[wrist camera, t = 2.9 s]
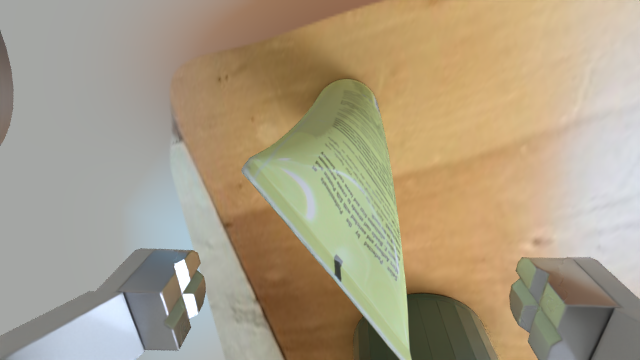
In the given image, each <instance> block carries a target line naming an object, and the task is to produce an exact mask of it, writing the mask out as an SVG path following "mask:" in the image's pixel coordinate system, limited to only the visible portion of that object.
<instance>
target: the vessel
mask: <svg viewBox="0 0 640 360" xmlns="http://www.w3.org/2000/svg"><path fill="white" fill-rule="evenodd" d="M407 308H408V331H409V349H410V355H411V359H412V360H500V359H499V357H498V355H497V353H496V350H495V348H494V346H493V344H492V342H491V340H490V338H489V335H488V333H487V331H486V330H485V328H484V326H483V324H482V322H481V320H480V319H479V317H478V316H477V315H476V314H475V313H474V312H473V311H472V310H471V309H470V308H469V307H467V306H466V305H464V304H463V303H461V302H459V301H457V300H454V299H452V298H449V297H445V296H441V295H435V294H424V293H423V294H409V295H407ZM353 360H400V359H399V358H398V357H397V356H396V354H395V353H394V352H393V351H392V350H391V349H390V348H389V346H388V345H387V344H386V343H385V341H384V340H383V339H382V338H381V337H380V335H379V334H378V333H377V331H376V330H375V329H374V328H373V327H372V325H371V324H370V323H369V322H368V320H367V319H366V318H365V317H364V316H363V317H362V319H361V320H360V321H359V323H358V325H357V327H356V329H355V332H354V337H353Z"/></svg>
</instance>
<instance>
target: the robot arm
mask: <svg viewBox="0 0 640 360" xmlns="http://www.w3.org/2000/svg"><path fill="white" fill-rule="evenodd" d="M200 264H201V262H200V259H199V255H198V253H197V252H195V251H194V250H172V249H142V248H141V249H138V250H135V251H134V252H133V253H132V254H131V255H130V256H129V257H128V258H127V259H126V260H125V261H124V262H123V263H122V264H121V265H120V266H119V267H118V269H117V270H116V271H115V272H114V273H113V274H112V275H111V276H110V277H109V278H108V279H107V280H106V281H105V282H104V283H103V284H102V285H101V286H100V287H99V288H98V289H97V290H96V291H95V292H94V291H89V292H87V293H85V294H83V295H81V296H79V297H77V298H75V299H73V300H71V301H69V302H67V303H65V304H63V305H61V306H59V307H57V308H55V309H53V310H51V311H49V312H47V313H45V314H43V315H41V316H39V317H37V318H35V319H33V320H31V321H29V322H27V323H25V324H23V325H21V326H19V327H17V328H15V329H13V330H11V331H9V332H7V333H5V334H3V335H1V336H0V360H136V359H137V358H138V357H139V356H140V355H142V354H143V353H144V352H145V351H144V350H177V351H178V350H179V349H180V347H181V345H182V343H183V341H184V339H185V338H186V336H187V334H188V332H189V330H190V328H191V326H190V322H189V320H190V319H191V318H192V317H194V316H195V315H196V314H198V313H199V311H200V309H201V307H202V305H203V302H204V297H205V293H206V287H205V280H204V276H203V275H202V274H201V273H200V272H199V271H197V269H198V267H199V265H200ZM516 272H517V274H518V275H519V277H520V279H518V280H517V281H516V282H515V283H514V284H512V286H511V291H510V295H509V298H510V308H511V311H512V314H513V316H514V318H515V320H516V322H517V324H518V325H519V326H520V327H522V328H523V329H525V330H526V331H527V332H529V333H530V335H529V338H528V343H529V344H530V346H531V348H532V350H533V351H534V353H535V355H536V356H537V358H538V360H640V299H639V298H638V297H636V296H635V295H634V294H633V293H632V292H631V291H630V290H629V289H628V288H627V287H626V286H624V285H623V284H622V283H621V282H620V281H619V280H618V279H617V278H616V277H615V276H614V275H613V274H611V273H610V272H609V271H608V270H607V269H606V268H605V267H604V266H603V265H602V264H601V263H600V262H598V261H597V260H595V259H593V258H590V257H567V258H527V257H522V258H521V259H520V261H519V262H518V264H517V268H516Z"/></svg>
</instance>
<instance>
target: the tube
mask: <svg viewBox="0 0 640 360" xmlns="http://www.w3.org/2000/svg"><path fill="white" fill-rule="evenodd" d="M241 171H242V173H243V174H244V175H245V177H246V178H247V179H248V180H249V181H250V182H251V183H252V184H253V185H254V187H255V188H256V189H257V190H258V191H259V193H260V194H261V195H262V196H263V197H264V198H265V200H266V201H267V202H268V203H269V204H270V205H271V207H272V208H273V209H274V210H275V211H276V212H277V213H278V215H279V216H280V217H281V218H282V219H283V220H284V221H285V223H286V224H287V225H288V226H289V228H290V229H291V230H292V231H293V233H294V234H295V235H296V236H297V237H298V239H299V240H300V241H301V242H302V243H303V244H304V245H305V247H306V248H307V249H308V250H309V251H310V253H311V254H312V255H313V256H314V258H315V259H316V260H317V261H318V262H319V263H320V264H321V265H322V267H323V268H324V269H325V270H326V271H327V272H328V273H329V274H330V276H331V277H332V278H333V279H334V280H335V282H336V283H337V284H338V285H339V286H340V288H341V289H342V290H343V291H344V293H345V294H346V295H347V296H348V298H349V299H350V300H351V301H352V302H353V304H354V305H355V306H356V308H357V309H358V310H359V311H360V312H361V313H362V314H363V316H364V317H365V318H366V319H367V320H368V322H369V323H370V324H371V325H372V327H373V328H374V329H375V330H376V331H377V333H378V334H379V335H380V337H381V338H382V339H383V340H384V341H385V343H386V344H387V345H388V346H389V348H390V349H391V350H392V351H393V352H394V353H395V354H396V356H397V357H398V358H399V359H400V360H412V359H411V355H410V349H409V331H408V308H407V294H406V283H405V274H404V265H403V255H402V246H401V237H400V229H399V222H398V214H397V206H396V198H395V192H394V185H393V178H392V172H391V166H390V160H389V154H388V148H387V142H386V137H385V133H384V128H383V124H382V119H381V115H380V111H379V107H378V104H377V101H376V98H375V96H374V94H373V93H372V91H371V90H370V89H369V88H368V87H367V86H366V85H365V84H363V83H361V82H359V81H356V80H352V79H342V80H337V81H335V82H333V83H331V84H329V85H328V86H327V87H325V88H324V89H323V91H322V92H321V93H320V94H319V96H318V98H317V99H316V101H315V102H314V104H313V105H312V107H311V108H310V109H309V111H308V112H307V113H306V114H305V115H304V117H303V118H302V119H301V120H300V121H299V122H298V123H297V124H296V125H295V126H294V127H293V128H292V129H291V130H290V131H289V132H288V133H287V134H285V135H284V136H283V137H282V138H281V139H280V140H278V141H277V142H276V143H275V144H273V145H272V146H270V147H269V148H267V149H265V150H263V151H262V152H260V153H258V154H256V155H254V156H252V157H250V158H249V160H248V161H247V162H246V163H245V165H244V166H243V168H242V170H241Z"/></svg>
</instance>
